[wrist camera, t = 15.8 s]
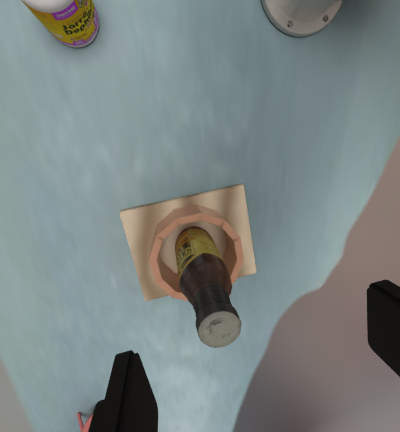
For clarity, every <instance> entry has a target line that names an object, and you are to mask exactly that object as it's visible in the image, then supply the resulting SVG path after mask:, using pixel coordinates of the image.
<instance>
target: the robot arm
mask: <svg viewBox="0 0 400 432" xmlns="http://www.w3.org/2000/svg"><path fill="white" fill-rule="evenodd" d="M342 1H343V0H262V5H263V7H264V9H265V12H266V14H267V16H268V17H269V19H270V21H271V22H272V23H273V24H274V25H275V26H276V27H277V28H278V29H279V30H281V31H282V32H284V33H286V34H288V35H291V36H296V37H303V36H308V35H312V34H314V33H316V32H318V31H320V30H321V29H322V28H324V27H325V26H326V25H327V24H328V23H329V22H330V21H331V20H332V19H333V18H334V16H335V15H336V14H337V12H338V10H339V8H340V6H341V4H342ZM367 325H368V326H367V327H368V343H369V345H370V347H371V349H372V350H373V351H374V352H375V353H376V354H377V355H378V356H379V357H380V358H381V359H382V360H383V361H384V362H385V363H386V364H387V365H388V366H389V367H390V368H391V369H392V370H393V371H394V372H396V374H398V376H400V287H399V286H397V285H395V284H394V283H392V282H390V281H388V280H382V281H378V282H375V283H371V284H370V286H369V288H368V289H367ZM88 432H158V407H157V403H156V400H155V397H154V394H153V392H152V389H151V386H150V384H149V381H148V378H147V375H146V373H145V370H144V367H143V364H142V362H141V359H140V356H139V354H138V353H135V354H134V353H133V351H132V350H130V351H127V352H123V353H120V354H117V355H116V356H115V359H114V363H113V367H112V371H111V375H110V380H109V384H108V388H107V392H106V396H105V399H104V400H101V401H99V402H98V403H97V404H96V406H95V409H94V412H93V416H92V419H91V423H90V427H89V430H88Z"/></svg>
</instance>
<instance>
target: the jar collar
mask: <svg viewBox="0 0 400 432" xmlns="http://www.w3.org/2000/svg"><path fill="white" fill-rule="evenodd" d="M200 220H201V221H205V222H208V223H212V224H215V225H218V226H221V227H222V228H223V229H224V231H225V237H226V243H227V246H226V249H225V252H224V254H223V257H222V258H223V260H224V262H225V264H226V267H227V270H228V272H229V274H230V277H231V283H232V284H233V283H234V282H235V281H236V279H237V276H238V274H239V271H240V269H241V266H242V264H243V261H244V257H243V250H242V244H241V238H240V236H239V235H238V234H237V233H236V232H235V231H234V230H233V229H232V227H231V226H230V225H229V224H228V223H227V222H226V221H225V220H224V219H223V217H222V216H221V215H220V214H219V213H218V212H217V211H215V210H212V209H209V208H206V207H203V206H199V205H196V204H195V205H191V206H186V207H182V208H177V209H174V210H172V211H171V212H170V213H169V214H168V215H167V216H166V217H165V218H164V219H162V220H161V221H160V222H159V223H158V224H157V227H156V230H155V233H154V236H153V240H152V243H151V249H150V256H149V261H150V265H151V269H152V272H153V276H154V280H155V282H156V283H157V284H158V285H159V286H160V287H161V288H162V289H164V290H165V291H166V292H167V293H168V294H169V295H170V296H171V297H173V298H178V299H182V300H187V301H189V300H188V299H187V298H186V297H185V295H184V294H183V293H182V292H181V290H180V287H179V279H178V273H174V272H173V271H172V270H171V269H170V268H169V267H168V266H167V265H166V264H165V263H164V262H162V260H161V256H160V252H159V251H160V247H161V244H162V241H163V239H164V238H166V237H167V236H168V235H169V234H170V233H171V232H172V231H173V230H174V229H176V228H177V227H178V226H179V225H182V224H187V223H191V222H195V221H200Z"/></svg>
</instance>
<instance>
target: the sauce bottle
mask: <svg viewBox="0 0 400 432" xmlns="http://www.w3.org/2000/svg"><path fill="white" fill-rule="evenodd" d="M175 254H176V262H177V272H178V279H179V287H180V290H181V292H182V293H183V294H184V295H185V297H186V298H187V299H188V300H189V302H190V303H191V304H192V305H193V308H194V310H195V312H196V317H197V319H196V328H197V332H198V336H199V338H200V340H201V341H202V342H203V343H204V344H206V345H208V346H210V347H214V348H217V347H224V346H227V345H229V344H230V343H232V342H233V341H234V340H236V338H237V337H238V336H239V334H240V331H241V321H240V319H239V316H238V314H237V311H236V310H235V308H234V307H233V306H232V305H231V302H230V298H229V295H230V294H231V289H232V283H231V277H230V274H229V272H228V270H227V267H226V264H225V262H224V260H223V258H222V256H221V255H220V253H219V251H218V249H217V247H216V245H215V243H214V241H213V239H212V237H211V236H210V235H209V233H208V232H207V231H206V230H204V229H202V228H200V227H196V226H192V227H188V228H186V229H184V230H183V231H182V232H181V233H180V234H179V235H178V237H177V240H176V244H175Z"/></svg>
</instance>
